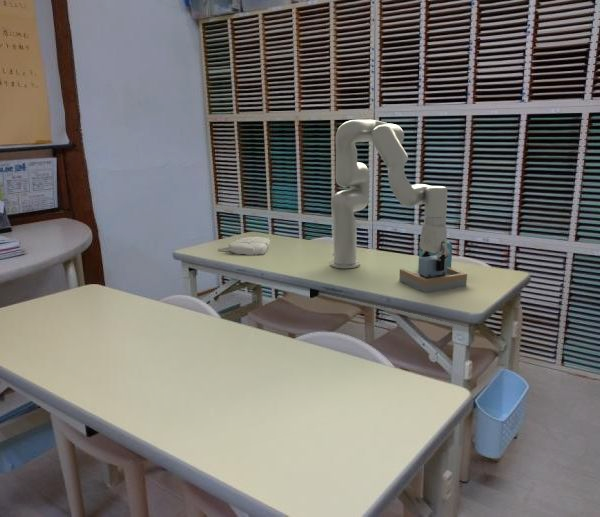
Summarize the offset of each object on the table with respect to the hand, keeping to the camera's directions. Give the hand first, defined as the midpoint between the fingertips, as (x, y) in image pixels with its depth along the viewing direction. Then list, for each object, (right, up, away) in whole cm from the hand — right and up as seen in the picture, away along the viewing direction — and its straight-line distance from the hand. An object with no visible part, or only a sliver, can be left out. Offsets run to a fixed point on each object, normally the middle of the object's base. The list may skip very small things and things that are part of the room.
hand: (432, 267), depth 183 cm
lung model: (-76, +6, +57) cm, 96 cm away
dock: (0, -6, +2) cm, 6 cm away
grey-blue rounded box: (0, -3, +1) cm, 4 cm away
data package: (+5, -2, +17) cm, 18 cm away
